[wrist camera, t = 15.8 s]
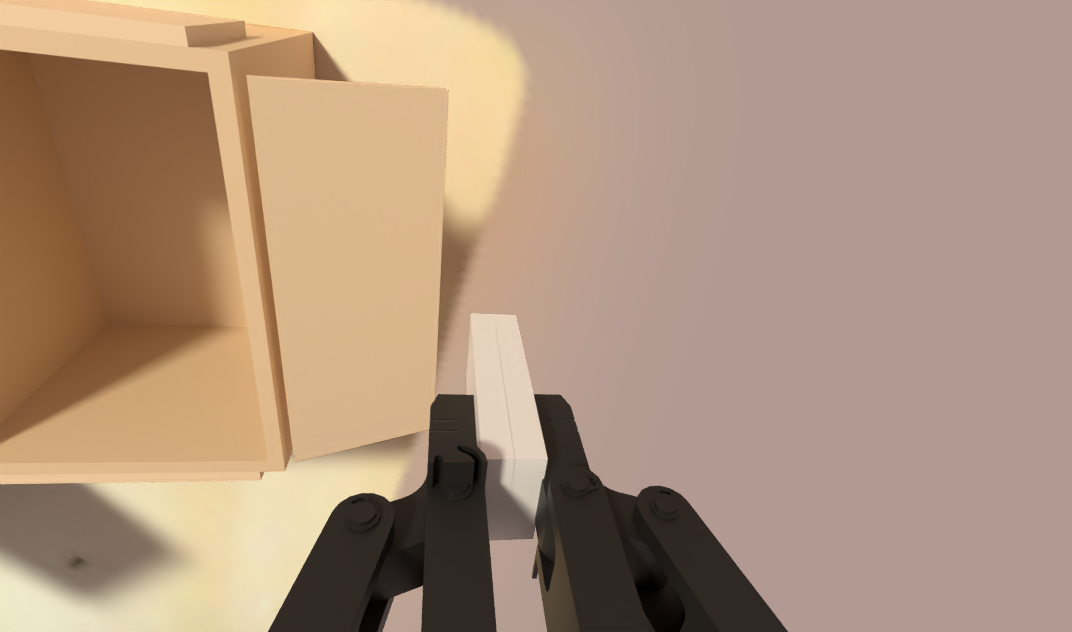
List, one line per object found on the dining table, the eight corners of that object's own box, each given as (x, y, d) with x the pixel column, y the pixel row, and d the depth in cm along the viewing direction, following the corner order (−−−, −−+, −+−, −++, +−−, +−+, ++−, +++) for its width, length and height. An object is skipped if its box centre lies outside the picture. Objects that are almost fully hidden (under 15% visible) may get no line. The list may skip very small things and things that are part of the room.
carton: (333, 340, 32) (286, 479, 23) (107, 333, 30) (-48, 485, 21) (311, 19, 24) (224, 31, 15) (-2, -23, 22) (-339, -40, 12)
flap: (247, 77, 15) (448, 90, 18) (246, 74, 16) (443, 88, 18) (294, 462, 22) (433, 428, 25) (293, 454, 23) (430, 421, 26)
